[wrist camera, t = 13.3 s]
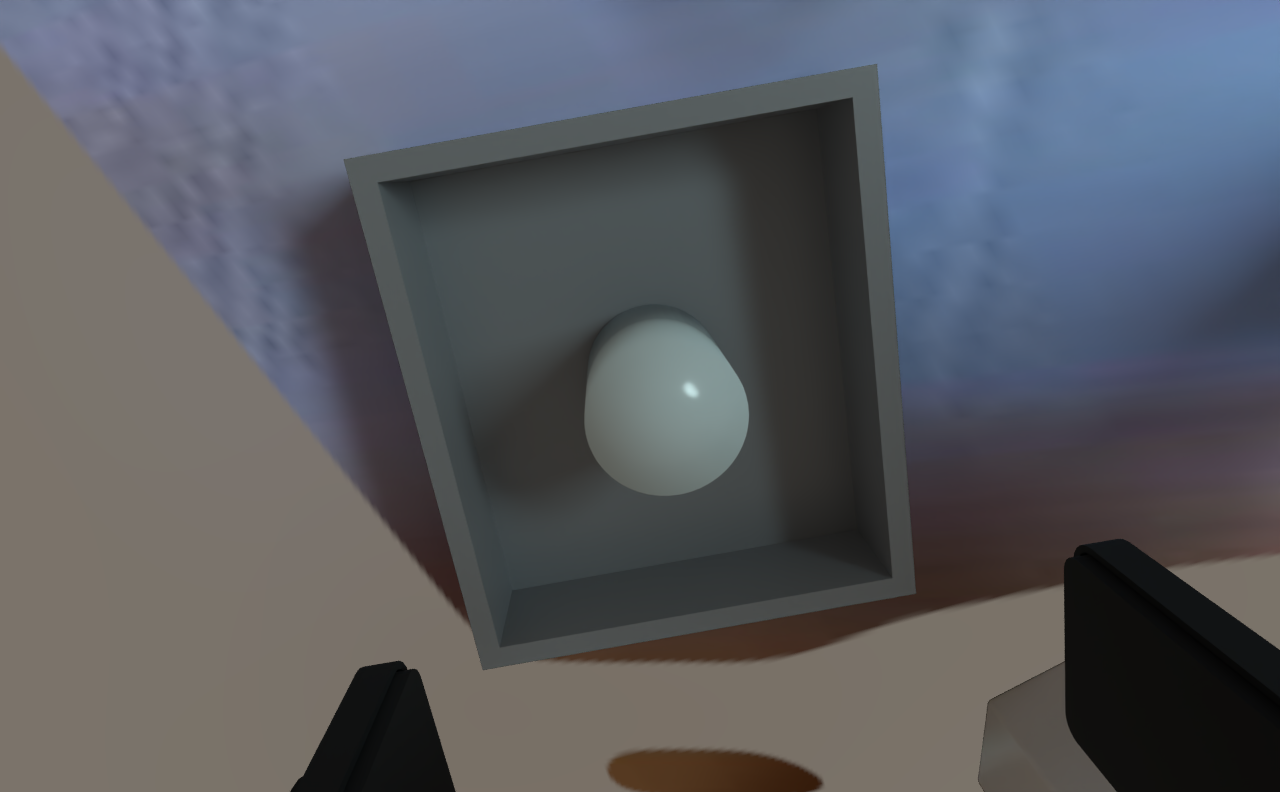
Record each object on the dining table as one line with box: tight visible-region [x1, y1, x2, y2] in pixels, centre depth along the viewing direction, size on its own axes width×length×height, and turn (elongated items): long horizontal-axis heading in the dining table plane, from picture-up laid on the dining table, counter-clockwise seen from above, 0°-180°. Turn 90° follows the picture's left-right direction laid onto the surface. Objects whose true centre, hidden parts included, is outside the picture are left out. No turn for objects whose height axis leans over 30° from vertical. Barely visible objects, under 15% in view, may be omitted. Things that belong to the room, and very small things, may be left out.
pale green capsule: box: [584, 304, 749, 496], centre depth 26 cm, size 5×5×6 cm
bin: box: [344, 64, 916, 670], centre depth 27 cm, size 16×18×4 cm
